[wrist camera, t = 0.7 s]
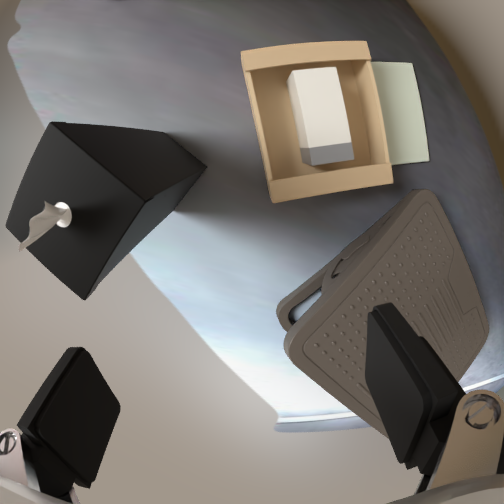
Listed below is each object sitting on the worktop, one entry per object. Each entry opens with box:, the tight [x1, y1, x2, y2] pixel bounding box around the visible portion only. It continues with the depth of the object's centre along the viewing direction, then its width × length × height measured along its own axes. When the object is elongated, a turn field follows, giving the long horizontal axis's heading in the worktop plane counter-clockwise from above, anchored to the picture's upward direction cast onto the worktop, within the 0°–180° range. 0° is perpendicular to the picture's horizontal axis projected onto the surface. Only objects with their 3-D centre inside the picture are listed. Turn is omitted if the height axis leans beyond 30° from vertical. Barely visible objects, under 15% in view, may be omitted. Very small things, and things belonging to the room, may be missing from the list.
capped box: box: [286, 67, 354, 166], centre depth 32 cm, size 11×5×6 cm, turn 11°
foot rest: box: [276, 189, 489, 438], centre depth 41 cm, size 39×30×13 cm
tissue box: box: [6, 122, 207, 300], centre depth 24 cm, size 8×8×28 cm
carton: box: [241, 41, 393, 203], centre depth 33 cm, size 18×15×6 cm
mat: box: [371, 62, 429, 165], centre depth 34 cm, size 15×9×1 cm, turn 11°
